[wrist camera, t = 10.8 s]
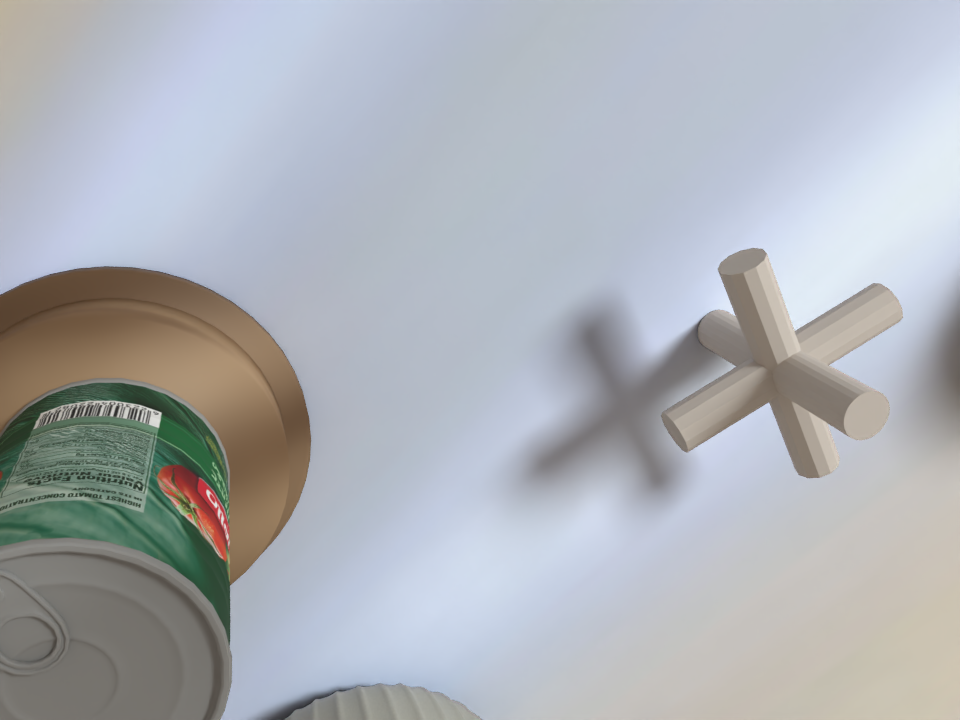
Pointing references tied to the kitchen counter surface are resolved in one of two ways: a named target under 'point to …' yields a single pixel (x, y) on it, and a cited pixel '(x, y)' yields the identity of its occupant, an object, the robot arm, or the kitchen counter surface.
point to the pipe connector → (786, 367)
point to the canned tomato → (113, 557)
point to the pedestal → (170, 375)
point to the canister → (384, 705)
